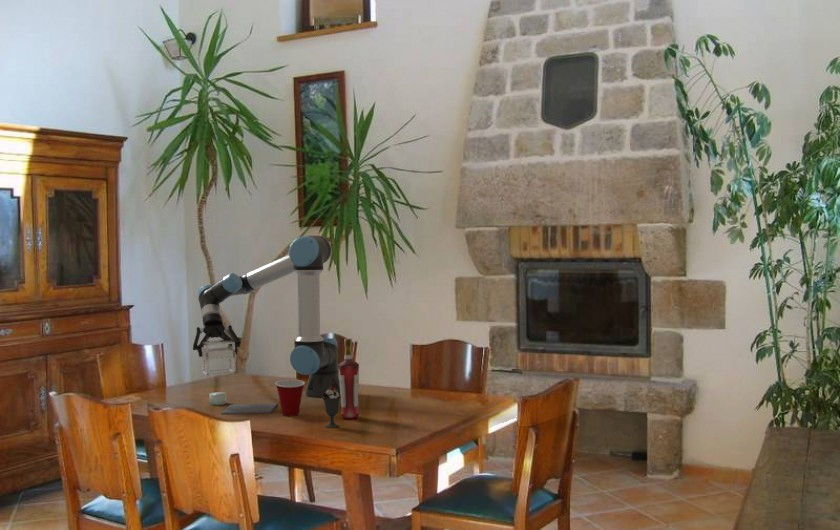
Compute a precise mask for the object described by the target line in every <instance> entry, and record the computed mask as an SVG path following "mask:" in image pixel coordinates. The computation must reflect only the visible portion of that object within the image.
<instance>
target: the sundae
mask: <svg viewBox="0 0 840 530" xmlns="http://www.w3.org/2000/svg"><path fill="white" fill-rule="evenodd" d="M335 383H336V382H334V384H333V385H334V386H335ZM336 390H337V389H336V388H332V387H330V388H329V389H328V390H327V391H326V393H325V392H324V393H323V394H322V395H323V397H321V399H323V403H324V409H325V413H326V415H327V416H329V418H330V422H329V424H328V425H327V424H326V425H325V426H324V427H325V428H326V429H338V428H340V425H338V424H336V423H335V416H336V415H337V414H338V413H339V405H340V400H341V396H340V395H339V393H338V392H337V391H336ZM337 427H338V428H337Z"/></svg>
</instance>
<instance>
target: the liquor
mask: <svg viewBox="0 0 840 530" xmlns="http://www.w3.org/2000/svg"><path fill="white" fill-rule="evenodd" d="M343 342H344V343H343V344H344V359H343V361H342V362H341V361H340V363H338V376H339V383H340V395H339V396H341V398H340V408H341V409H340V410H341V412H340V415H339V416H341V418H343V419H344V420H355V418H356V419H357V418H358V417H359V415H360V411H359V384H360V383H359V382H360V381H359V380H360V364H359V363H358V362H356V361H354V360H353V352H352V350H353V349H352V347H353V346H352V345H353V340H352V338H344V341H343Z"/></svg>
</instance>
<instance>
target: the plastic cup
mask: <svg viewBox="0 0 840 530" xmlns="http://www.w3.org/2000/svg"><path fill="white" fill-rule="evenodd" d="M274 385H275V386H276V390H277V393H278V397H279V404H280V409H281V414H282V415H283V416H285V417H292V416H293V417H294V416H298V415H299V413H300V408H301V403H302V402H301V401H302V397H303V395H302V394H303V392H304V391H303V389H304V386H305V385H306V382H305V381H304V380H300V379H282V380H278V381H275V382H274Z"/></svg>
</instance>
